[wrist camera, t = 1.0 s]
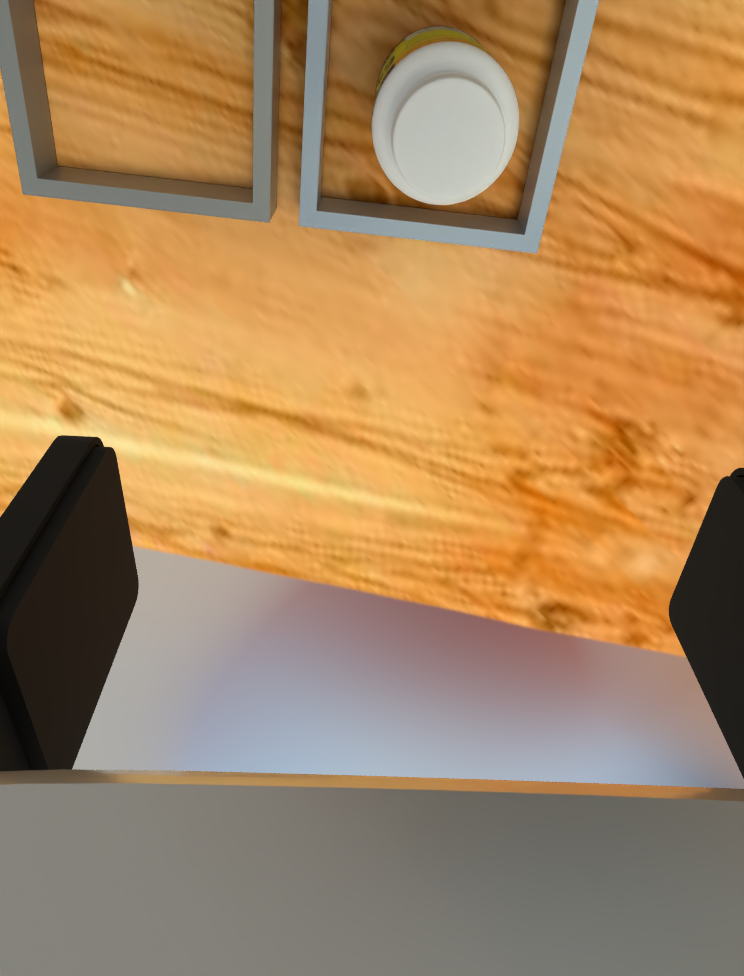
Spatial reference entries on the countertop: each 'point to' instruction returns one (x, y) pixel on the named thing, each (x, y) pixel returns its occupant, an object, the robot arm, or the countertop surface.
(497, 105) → the supplement bottle
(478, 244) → the blue-grey square frame
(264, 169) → the grey open square frame
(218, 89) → the countertop surface
